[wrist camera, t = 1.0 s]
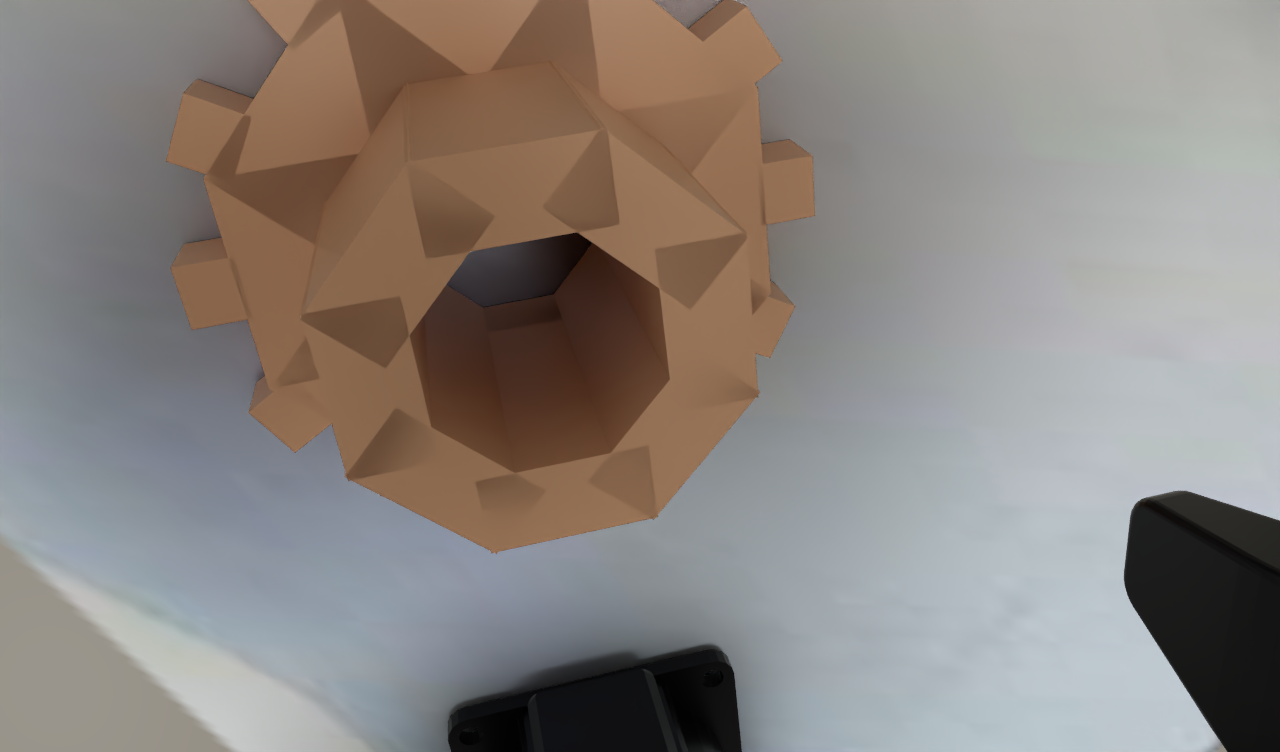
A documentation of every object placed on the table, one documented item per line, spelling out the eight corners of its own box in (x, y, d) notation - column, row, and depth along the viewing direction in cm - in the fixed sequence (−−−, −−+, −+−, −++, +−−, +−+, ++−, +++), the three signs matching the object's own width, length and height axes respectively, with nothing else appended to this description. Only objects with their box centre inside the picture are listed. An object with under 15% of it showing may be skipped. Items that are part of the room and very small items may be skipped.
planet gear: (804, 420, 22) (931, 595, 17) (278, 529, 21) (238, 757, 15) (774, -155, 17) (942, -162, 12) (81, -62, 16) (-77, -23, 10)
